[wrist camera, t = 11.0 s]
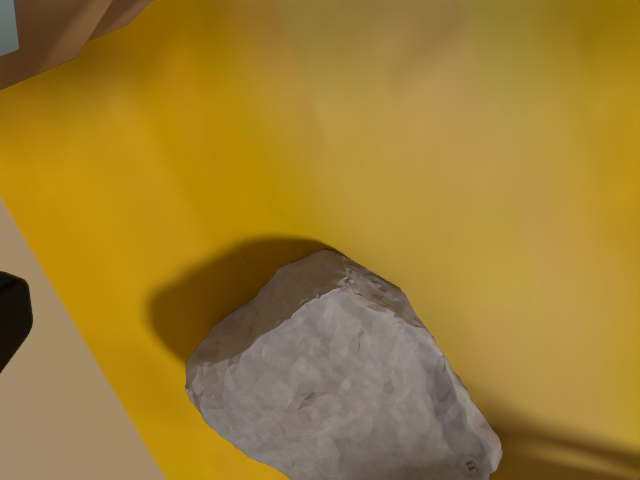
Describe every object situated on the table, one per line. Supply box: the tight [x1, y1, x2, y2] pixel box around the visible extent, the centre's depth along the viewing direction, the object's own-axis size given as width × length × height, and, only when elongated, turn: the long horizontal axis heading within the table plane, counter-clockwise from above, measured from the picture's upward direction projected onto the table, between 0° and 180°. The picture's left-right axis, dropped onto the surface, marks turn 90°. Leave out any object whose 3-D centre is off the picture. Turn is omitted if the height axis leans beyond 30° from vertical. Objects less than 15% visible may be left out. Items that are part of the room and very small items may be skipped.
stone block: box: [185, 249, 503, 480], centre depth 25 cm, size 12×5×10 cm
